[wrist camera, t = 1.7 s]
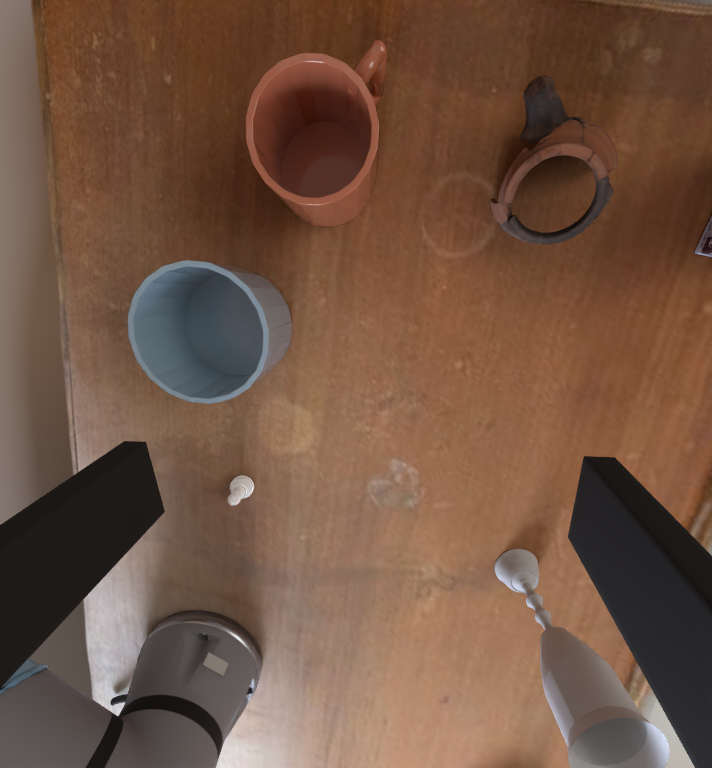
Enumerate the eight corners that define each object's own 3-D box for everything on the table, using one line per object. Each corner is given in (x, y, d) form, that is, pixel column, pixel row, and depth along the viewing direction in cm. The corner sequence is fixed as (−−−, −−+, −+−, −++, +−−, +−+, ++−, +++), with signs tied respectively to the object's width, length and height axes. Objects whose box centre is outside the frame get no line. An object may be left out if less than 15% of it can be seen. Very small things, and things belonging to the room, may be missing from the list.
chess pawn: (242, 470, 41) (231, 486, 37) (259, 485, 41) (249, 503, 38) (227, 484, 41) (214, 501, 38) (244, 499, 42) (233, 517, 38)
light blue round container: (226, 396, 39) (185, 426, 30) (162, 306, 37) (98, 310, 28) (312, 344, 37) (295, 360, 28) (251, 246, 35) (212, 230, 26)
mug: (334, 247, 35) (323, 232, 26) (258, 182, 34) (220, 144, 25) (419, 134, 32) (437, 76, 23) (339, 60, 31) (328, -31, 22)
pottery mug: (615, 193, 33) (639, 221, 27) (509, 241, 38) (510, 273, 32) (582, 43, 28) (603, 38, 22) (464, 122, 33) (455, 135, 27)
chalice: (485, 543, 42) (567, 721, 25) (545, 537, 42) (672, 713, 24) (489, 595, 44) (568, 795, 26) (546, 590, 43) (666, 790, 26)
